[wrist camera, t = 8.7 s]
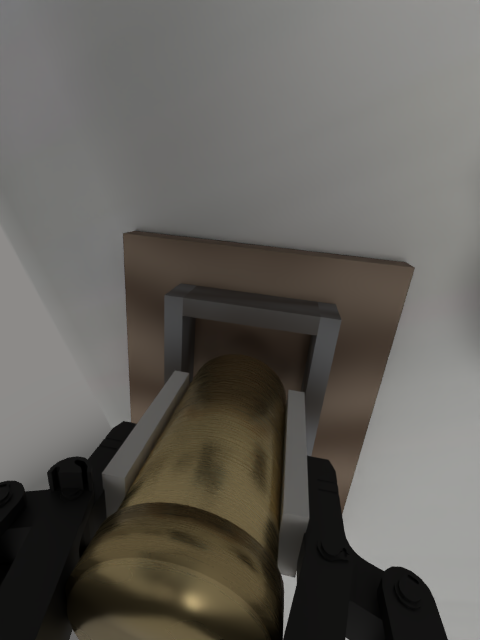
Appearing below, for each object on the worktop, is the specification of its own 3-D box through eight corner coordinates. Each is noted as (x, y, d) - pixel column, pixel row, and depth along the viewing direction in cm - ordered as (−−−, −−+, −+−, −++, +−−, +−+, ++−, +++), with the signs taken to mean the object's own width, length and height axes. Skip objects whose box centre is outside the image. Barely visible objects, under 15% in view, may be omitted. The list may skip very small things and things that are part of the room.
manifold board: (135, 231, 20) (48, 248, 13) (405, 262, 18) (473, 303, 11) (142, 490, 28) (92, 586, 21) (329, 531, 26) (341, 652, 19)
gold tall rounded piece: (189, 342, 16) (45, 536, 7) (298, 359, 15) (300, 599, 6) (186, 429, 18) (70, 670, 9) (282, 447, 17) (265, 728, 8)
